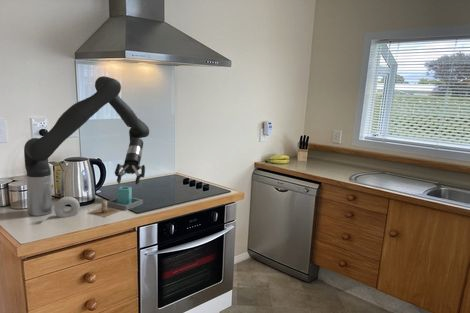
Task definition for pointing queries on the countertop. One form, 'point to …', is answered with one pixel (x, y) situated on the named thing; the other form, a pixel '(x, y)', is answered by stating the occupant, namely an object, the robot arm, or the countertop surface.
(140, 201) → the grey square ring
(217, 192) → the countertop surface
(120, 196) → the sleeve
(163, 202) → the countertop surface
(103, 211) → the stake stand
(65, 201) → the donut
